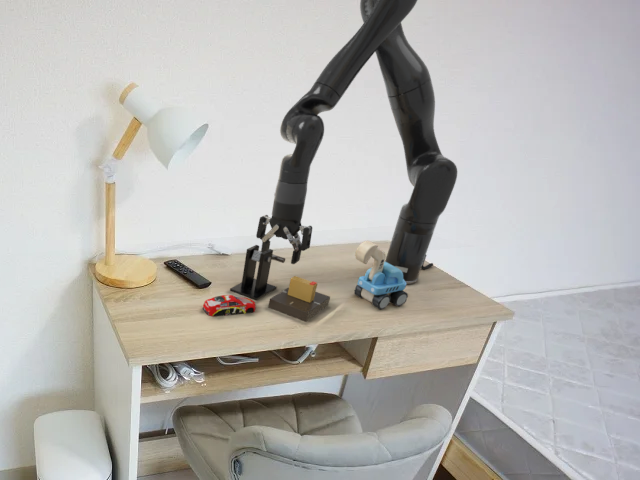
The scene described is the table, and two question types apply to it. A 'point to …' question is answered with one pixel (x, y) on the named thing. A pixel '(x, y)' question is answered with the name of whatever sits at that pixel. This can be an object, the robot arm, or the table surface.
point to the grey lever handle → (257, 253)
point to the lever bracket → (257, 286)
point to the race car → (228, 305)
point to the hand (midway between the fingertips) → (279, 258)
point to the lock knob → (302, 289)
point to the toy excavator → (379, 278)
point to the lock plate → (298, 305)
